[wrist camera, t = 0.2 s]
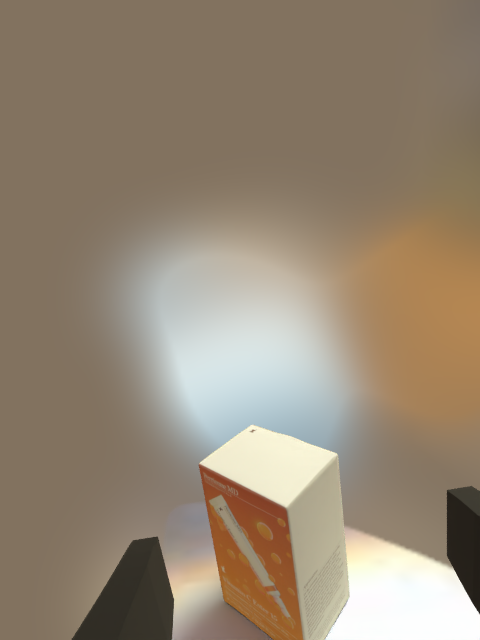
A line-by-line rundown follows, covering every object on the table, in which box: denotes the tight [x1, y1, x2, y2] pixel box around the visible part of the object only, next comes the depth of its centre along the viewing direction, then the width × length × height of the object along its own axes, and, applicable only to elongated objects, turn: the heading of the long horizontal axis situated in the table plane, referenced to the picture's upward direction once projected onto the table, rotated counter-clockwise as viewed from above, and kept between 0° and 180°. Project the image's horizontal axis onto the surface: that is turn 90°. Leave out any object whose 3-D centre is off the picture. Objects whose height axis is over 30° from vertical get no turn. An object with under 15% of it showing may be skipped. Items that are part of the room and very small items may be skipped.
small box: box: [199, 425, 349, 640], centre depth 28 cm, size 8×6×13 cm
